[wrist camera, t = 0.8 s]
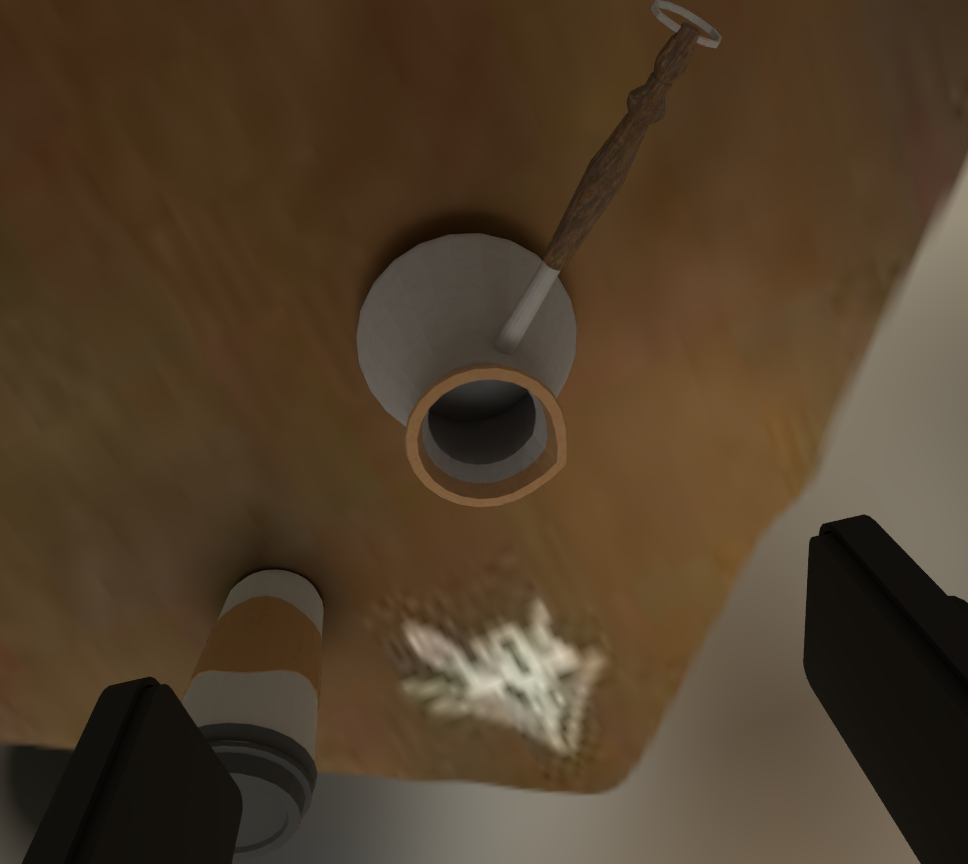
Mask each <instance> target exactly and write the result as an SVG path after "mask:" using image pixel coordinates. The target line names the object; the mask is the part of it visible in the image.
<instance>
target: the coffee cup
mask: <svg viewBox="0 0 968 864" xmlns="http://www.w3.org/2000/svg"><path fill="white" fill-rule="evenodd" d="M323 613H324V608H323V603H322V599H321V598H320V596H319V594H318V592H317V591H316V589H315V587H314V586H313V585H312V584H311V583H310V582H309V581H308V580H307V579H305V578H303V577H301V576H300V575H298V574H295V573H292V572H289V571H284V570H275V569H274V570H263V571H260V572H256V573H253V574H251V575H249V576H248V577H246V578H244V579H243V580H242V581H240V582H239V583H237V584H236V585H235V587H234V588H233V589H232V590H231V591H230V593H229V595H228V597H227V599H226V602H225V604H224V606H223V609H222V611H221V613H220V616H219V618H218V620H217V622H216V623H215V625H214V627H213V629H212V631H211V634H210V636H209V638H208V640H207V643H206V645H205V647H204V650H203V652H202V654H201V656H200V659H199V661H198V663H197V666H196V668H195V670H194V672H193V675H192V677H191V679H190V682H189V684H188V686H187V688H186V691H185V697H184V699H183V701H182V705H183V706H184V708H185V709H186V711H187V712H188V714H189V715H190V717H191V718H192V719H193V721H194V722H195V724H196V725H197V727H198V728H199V730H200V731H201V733H202V734H203V736H204V737H205V739H206V740H207V741H208V743H209V744H210V746H211V747H212V749H213V750H214V752H215V753H216V755H217V756H218V758H219V759H220V761H221V762H222V763H223V765H224V766H225V768H226V769H227V771H228V772H229V774H230V775H231V777H232V778H233V780H234V781H235V783H236V784H237V786H238V787H239V789H240V791H241V795H242V802H243V810H242V817H241V822H240V826H239V831H238V836H237V841H236V845H235V850H234V855H233V859H232V860H239V859H248V858H253V857H256V856H260V855H264V854H267V853H269V852H271V851H273V850H275V849H277V848H280V847H281V846H283V845H284V844H285V843H286V842H288V841H289V840H290V839H291V838H292V837H293V836H294V834H295V833H296V831H297V830H298V828H299V825H300V821H301V819H302V818H303V817H304V815H305V814H306V812H307V811H308V809H309V808H310V804H311V799H312V794H313V790H314V788H315V784H316V779H317V770H316V766H315V762H314V758H315V742H316V726H317V714H318V709H319V703H320V687H321V669H322V652H323V642H322V629H323Z"/></svg>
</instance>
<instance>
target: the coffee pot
mask: <svg viewBox="0 0 968 864" xmlns="http://www.w3.org/2000/svg"><path fill="white" fill-rule="evenodd" d="M659 8H663V9H667V10H670V11H672V12H675V13H677V14H680V15H682V16H683V17H685V18H687V19H688V20H690V21H692V22H693V23H695V24H697V25H698V26H699V27H700V28H702V29H703V30H704V31H706V32H707V33H708V34H710V36H711V37H712V38H713V40H712V39H707V38H705V37H702V36H699V35H700V32H699V30H698V29H696V28H695V27H694V26H692V25H690V24H688V23H683V24H682V25H681V26H680V25H679V24H677V23H675V22H674V21H673V20H671V19H670V18H669V17H667V16H666V15H665V14H663V13H662V12H661V10H660V9H659ZM650 10H651V11H652V13H653V14H654V15H655V17H656V18H657V19H658V20H659V21H661V22H662V23H663V24H665V25H666V26H667V27H669V28H670V29H671V30H673V31H675V32H676V33H675V35H673V36H672V37H671V38H670V39H669V41H668V42H667V43H666V45H665V46H664V47H663V49H662V50H661V51H660V53H659V54H658V56H657V58H656V61H655V67H654V72H653V73H651V75H650V77H649V79H648V80H647V82H646V84H645V85H643V86H641V87H639V88H637V89H634V90H633V91H631V92H630V93H629V95H628V99H627V106H628V114H626V115H625V117H624V118H623V119H622V121H621V122H620V123H619V125H618V126H617V127H616V129H615V130H614V131H613V133H612V134H611V135H610V137H609V138H608V139H607V141H606V142H605V143H604V145H603V146H602V147H601V149H600V150H599V151H598V152H597V154H596V155H595V156H594V157H593V158H592V160H591V161H590V163H589V165H588V167H587V169H586V171H585V173H584V175H583V177H582V179H581V181H580V183H579V185H578V187H577V189H576V191H575V193H574V195H573V197H572V200H571V202H570V204H569V206H568V208H567V210H566V212H565V214H564V216H563V218H562V220H561V222H560V224H559V226H558V228H557V230H556V232H555V234H554V236H553V238H552V240H551V242H550V244H549V246H548V248H547V250H546V252H545V254H544V256H543V261H542V260H541V259H540V258H539V257H538V256H537V255H536V254H534V253H533V252H531V251H529V250H527V249H525V248H523V247H522V246H520V245H518V244H516V243H514V242H512V241H511V240H507V239H503V238H498V237H494V236H490V235H485V234H481V233H472V234H449V235H446V236H442V237H439V238H436V239H433V240H430V241H427V242H423V243H420V244H418V245H417V246H415V247H414V248H412V249H411V250H409V251H408V252H406V253H404V254H403V255H401V256H400V257H398V258H397V259H395V260H394V261H393V262H392V263H391V264H390V265H389V266H388V267H387V268H386V270H385V271H384V272H383V273H382V274H381V275H380V276H379V277H378V279H377V280H376V281H375V282H374V283H373V285H372V287H371V289H370V291H369V293H368V295H367V297H366V299H365V302H364V304H363V306H362V308H361V311H360V317H359V323H358V329H357V335H356V340H357V349H358V357H359V365H360V367H361V370H362V372H363V374H364V377H365V379H366V382H367V384H368V386H369V389H370V391H371V392H372V393H373V395H374V396H375V397H376V398H377V400H378V401H379V402H380V404H381V405H382V406H383V407H384V409H385V410H386V411H387V412H388V413H389V414H391V415H392V416H393V417H394V418H395V419H397V420H398V421H399V422H400V423H402V424H403V425H404V426H405V427H406V429H405V434H404V437H405V449H406V455H407V457H408V460H409V462H410V465H411V467H412V469H413V471H414V472H415V474H416V475H417V476H418V477H419V479H420V480H421V481H422V482H423V484H424V485H425V486H426V487H427V488H429V489H430V490H432V491H433V492H434V493H436V494H437V495H439V496H440V497H442V498H444V499H447V500H449V501H452V502H454V503H457V504H461V505H468V506H474V507H486V506H498V505H502V504H505V503H509V502H512V501H516V500H518V499H520V498H522V497H523V496H525V495H527V494H529V493H531V492H533V491H534V490H536V489H537V488H538V487H540V486H541V485H543V484H544V483H545V482H547V481H548V480H550V479H551V478H552V477H553V476H554V475H555V474H556V473H557V472H559V471H560V470H561V469H562V468H563V467H564V466H565V465H566V462H567V447H568V441H567V427H566V422H565V418H564V414H563V410H562V407H561V405H560V404H559V402H558V400H557V399H556V398H557V396H558V395H559V393H560V391H561V389H562V388H563V386H564V384H565V382H566V381H567V378H568V375H569V372H570V369H571V366H572V363H573V360H574V357H575V353H576V335H577V325H576V320H575V316H574V312H573V307H572V303H571V299H570V297H569V295H568V294H567V292H566V290H565V288H564V286H563V285H562V283H561V281H560V279H559V277H558V274H559V272H560V271H561V270H563V269H564V268H565V266H566V265H567V263H568V262H569V260H570V259H571V257H572V256H573V255H574V253H575V252H576V250H577V249H578V247H579V246H580V245H581V243H582V242H583V240H584V239H585V237H586V236H587V234H588V233H589V232H590V230H591V229H592V227H593V226H594V224H595V223H596V221H597V220H598V219H599V217H600V216H601V214H602V213H603V211H604V210H605V208H606V207H607V206H608V204H609V203H610V201H611V200H612V198H613V197H614V195H615V194H616V193H617V191H618V190H619V188H620V187H621V185H622V184H623V182H624V180H625V178H626V175H627V173H628V170H629V168H630V166H631V163H632V161H633V159H634V157H635V154H636V152H637V150H638V148H639V146H640V143H641V141H642V139H643V137H644V135H645V132H646V130H647V127H648V125H649V124H652V123H654V122H657V121H659V120H660V119H662V118H663V117H664V115H665V95H666V94H667V92H668V91H669V89H670V87H671V85H672V84H671V83H672V82H674V81H675V80H676V79H678V78H679V77H680V76H681V75H682V74H683V73H684V71H685V69H686V67H687V65H688V62H689V60H690V58H691V56H692V54H693V51H694V46H695V44H696V43H698V44H700V45H703V46H706V47H712V48H717V47H718V45H719V43H720V41H721V39H722V37H721V36H720V35H719V33H718V32H717V31H716V30H715V29H714V28H713V27H712V26H710V25H709V24H708V23H706V22H705V21H704V20H703V19H701V18H700V17H698V16H696V15H695V14H693V13H691V12H690V11H688V10H687V9H685V8H683V7H680V6H678V5H676V4H673V3H671V2H668V1H663V0H655V1H654V3H653V4H652V6H651V8H650Z"/></svg>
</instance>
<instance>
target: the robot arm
mask: <svg viewBox="0 0 968 864" xmlns="http://www.w3.org/2000/svg"><path fill="white" fill-rule="evenodd" d="M803 663H804V670H805V673H806V676H807V679H808V681H809V684H810V686H811V688H812V689H813V691H814V693H815V694H816V696H817V697H818V699H819V700H820V702H821V704H822V705H823V707H824V709H825V710H826V712H827V713H828V715H829V717H830V718H831V720H832V722H833V723H834V725H835V726H836V728H837V730H838V731H839V733H840V734H841V736H842V738H843V739H844V741H845V742H846V744H847V746H848V747H849V749H850V750H851V752H852V754H853V755H854V757H855V759H856V760H857V762H858V763H859V765H860V767H861V768H862V770H863V771H864V773H865V775H866V776H867V778H868V780H869V781H870V783H871V784H872V786H873V787H874V789H875V791H876V792H877V794H878V796H879V797H880V799H881V800H882V802H883V803H884V805H885V807H886V808H887V810H888V812H889V813H890V815H891V817H892V818H893V820H894V821H895V823H896V825H897V826H898V827H899V829H900V831H901V833H902V834H903V836H904V837H905V839H906V841H907V842H908V844H909V845H910V847H911V849H912V850H913V852H914V854H915V855H916V857H917V858H918V860H919V861H920V863H921V864H968V603H967V602H966V601H964V600H962V599H960V598H958V597H956V596H947V595H946V594H945V593H944V592H943V591H942V589H941V588H940V587H939V586H938V585H937V584H936V583H935V582H934V581H933V580H932V579H931V578H930V577H929V576H928V575H927V574H926V573H925V572H924V571H923V570H922V569H921V568H920V567H919V566H918V565H917V564H916V563H915V561H914V560H913V559H912V558H911V557H910V556H909V555H908V554H907V553H906V552H905V551H904V550H903V549H902V548H901V547H900V546H899V545H898V544H897V543H896V542H895V541H894V540H893V539H892V538H891V537H890V536H889V535H888V534H887V533H886V532H885V531H884V529H883V528H881V526H880V525H879V524H878V523H877V522H876V521H875V520H873V519H872V518H871V517H870V516H867V515H860V516H855V517H851V518H846V519H842V520H838V521H833V522H829V523H825V524H822V526H821V527H820V531H819V536H815V537H812V538H811V539H810V542H809V557H808V579H807V598H806V618H805V638H804V658H803ZM242 810H243V802H242V795H241V791H240V789H239V787H238V786H237V784H236V783H235V781H234V780H233V778H232V777H231V775H230V774H229V772H228V771H227V769H226V768H225V766H224V765H223V763H222V762H221V761H220V759H219V758H218V756H217V755H216V753H215V752H214V750H213V749H212V747H211V746H210V744H209V743H208V741H207V740H206V739H205V737H204V736H203V734H202V733H201V731H200V730H199V728H198V727H197V725H196V724H195V722H194V721H193V719H192V718H191V717H190V715H189V714H188V712H187V711H186V709H185V708H184V706H183V705H182V703H181V702H180V700H179V699H178V697H177V696H176V695H175V693H174V692H173V690H172V689H171V688H170V687H169V686H168V685H166V684H162V685H160V683H159V682H158V681H157V680H156V679H155V678H152V677H146V678H141V679H137V680H133V681H128V682H124V683H119V684H115V685H111V686H108V687H107V688H106V689H104V691H103V692H102V694H101V695H100V697H99V699H98V701H97V703H96V705H95V708H94V710H93V712H92V714H91V716H90V718H89V720H88V723H87V725H86V727H85V729H84V731H83V733H82V735H81V738H80V740H79V742H78V744H77V746H76V748H75V750H74V753H73V755H72V757H71V759H70V761H69V763H68V765H67V768H66V770H65V772H64V774H63V776H62V778H61V780H60V783H59V785H58V787H57V789H56V791H55V793H54V795H53V798H52V800H51V802H50V804H49V806H48V809H47V811H46V813H45V815H44V817H43V819H42V821H41V823H40V825H39V828H38V830H37V832H36V834H35V836H34V838H33V841H32V843H31V845H30V847H29V849H28V851H27V853H26V856H25V858H24V860H23V862H22V864H232V859H233V855H234V850H235V845H236V841H237V836H238V831H239V826H240V822H241V817H242Z"/></svg>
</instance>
